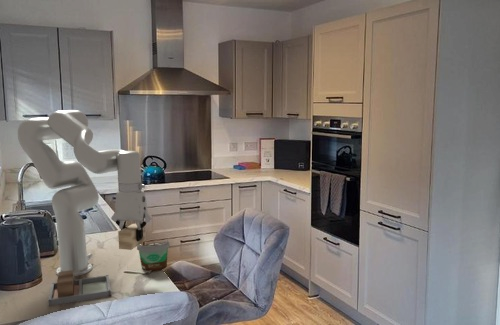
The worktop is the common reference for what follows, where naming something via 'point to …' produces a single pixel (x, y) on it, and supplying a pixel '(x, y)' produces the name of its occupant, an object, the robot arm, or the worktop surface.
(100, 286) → the slot organizer
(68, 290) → the walnut block
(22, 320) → the worktop surface
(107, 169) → the robot arm
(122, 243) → the pale oak block
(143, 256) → the food container
